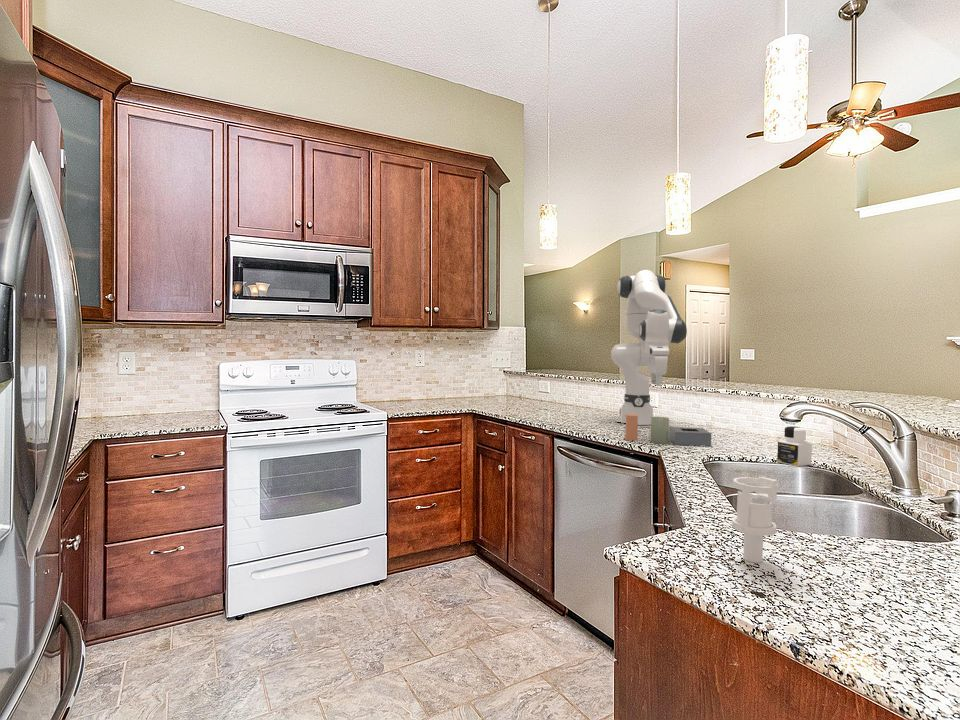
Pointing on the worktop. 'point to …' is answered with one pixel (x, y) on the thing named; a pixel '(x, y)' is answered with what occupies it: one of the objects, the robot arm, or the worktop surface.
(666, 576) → the worktop surface
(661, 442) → the green rectangular block
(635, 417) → the square bit
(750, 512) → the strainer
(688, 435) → the bore block
